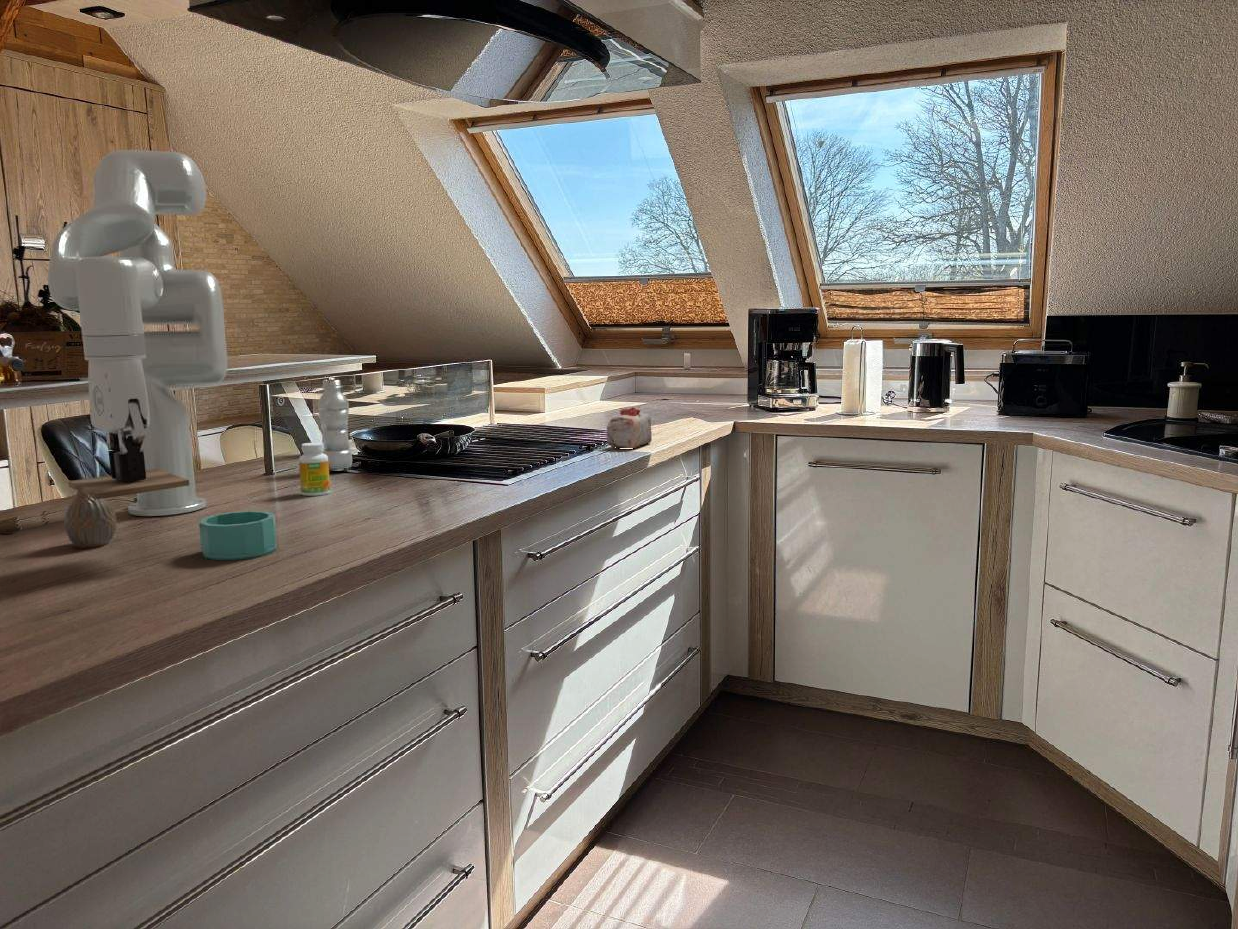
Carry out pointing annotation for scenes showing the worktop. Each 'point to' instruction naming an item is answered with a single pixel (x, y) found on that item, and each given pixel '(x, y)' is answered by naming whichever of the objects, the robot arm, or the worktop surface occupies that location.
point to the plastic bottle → (335, 425)
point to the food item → (629, 429)
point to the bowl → (238, 535)
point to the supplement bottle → (314, 470)
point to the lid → (127, 483)
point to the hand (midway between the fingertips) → (128, 477)
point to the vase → (89, 521)
